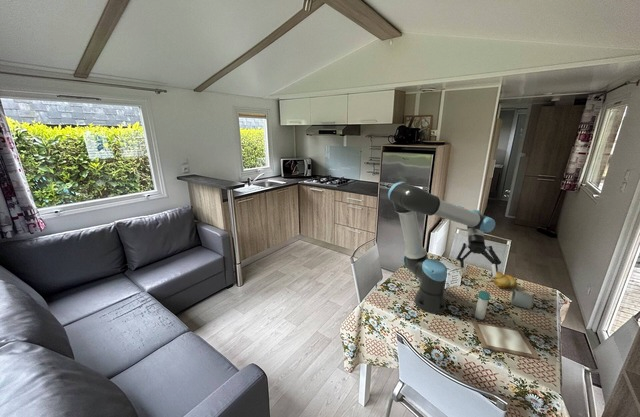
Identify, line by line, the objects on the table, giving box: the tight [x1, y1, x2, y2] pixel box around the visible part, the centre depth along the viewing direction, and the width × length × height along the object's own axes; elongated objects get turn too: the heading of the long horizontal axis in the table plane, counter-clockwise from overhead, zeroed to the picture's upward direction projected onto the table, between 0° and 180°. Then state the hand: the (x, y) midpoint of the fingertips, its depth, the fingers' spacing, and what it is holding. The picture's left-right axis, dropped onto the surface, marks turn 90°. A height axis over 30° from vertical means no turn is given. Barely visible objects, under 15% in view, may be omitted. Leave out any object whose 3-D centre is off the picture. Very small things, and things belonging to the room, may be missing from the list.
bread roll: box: [493, 270, 518, 290], centre depth 149 cm, size 13×10×8 cm
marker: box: [473, 290, 491, 322], centre depth 122 cm, size 4×4×14 cm
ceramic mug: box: [510, 289, 535, 310], centre depth 134 cm, size 11×8×8 cm
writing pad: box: [472, 320, 541, 360], centre depth 111 cm, size 20×16×1 cm
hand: (479, 275), depth 129 cm, fingers open, 13 cm apart
